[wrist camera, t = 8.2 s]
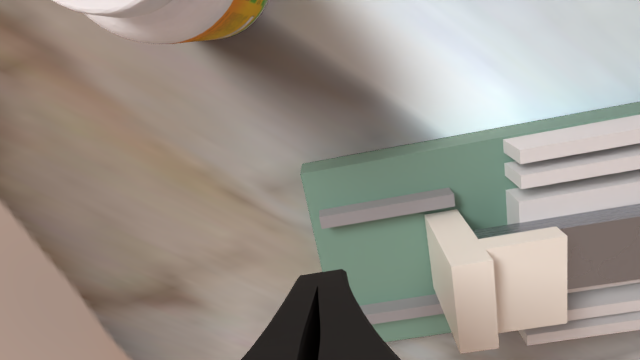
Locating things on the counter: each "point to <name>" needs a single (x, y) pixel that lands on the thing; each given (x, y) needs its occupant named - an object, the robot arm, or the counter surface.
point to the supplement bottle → (170, 18)
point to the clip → (496, 279)
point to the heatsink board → (473, 212)
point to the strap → (591, 244)
